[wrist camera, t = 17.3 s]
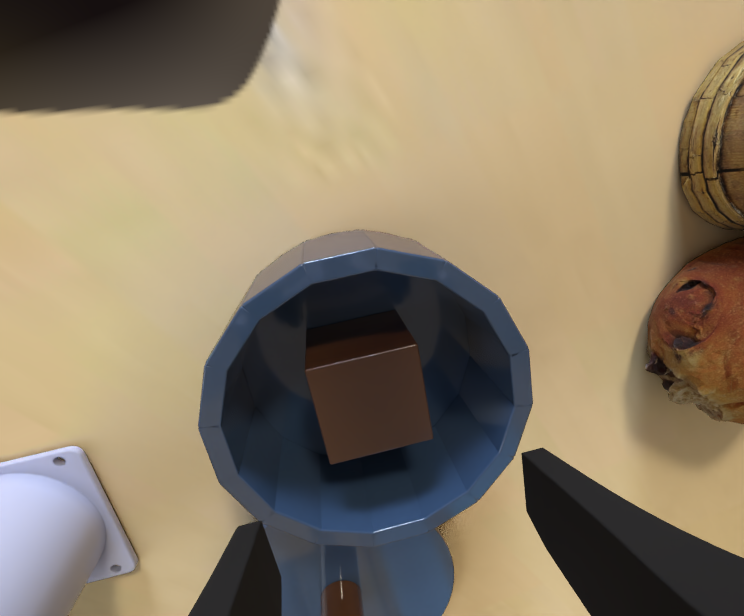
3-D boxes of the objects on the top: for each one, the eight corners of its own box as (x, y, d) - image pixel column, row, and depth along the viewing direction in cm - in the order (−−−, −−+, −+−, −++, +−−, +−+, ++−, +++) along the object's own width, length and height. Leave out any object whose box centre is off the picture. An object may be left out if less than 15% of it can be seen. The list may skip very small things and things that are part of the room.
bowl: (268, 486, 23) (255, 579, 17) (192, 262, 19) (147, 296, 13) (490, 430, 24) (540, 503, 18) (464, 205, 19) (519, 216, 14)
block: (326, 408, 21) (329, 466, 17) (305, 329, 20) (303, 370, 16) (410, 388, 21) (434, 439, 17) (396, 308, 20) (418, 343, 16)
